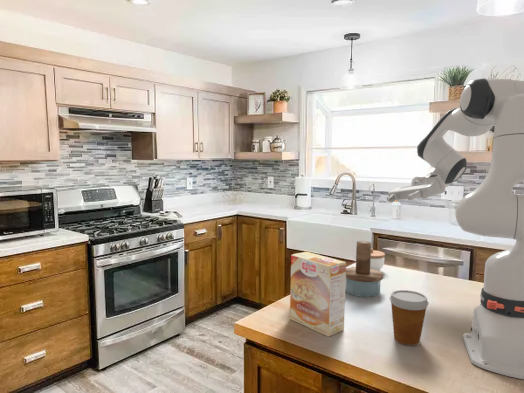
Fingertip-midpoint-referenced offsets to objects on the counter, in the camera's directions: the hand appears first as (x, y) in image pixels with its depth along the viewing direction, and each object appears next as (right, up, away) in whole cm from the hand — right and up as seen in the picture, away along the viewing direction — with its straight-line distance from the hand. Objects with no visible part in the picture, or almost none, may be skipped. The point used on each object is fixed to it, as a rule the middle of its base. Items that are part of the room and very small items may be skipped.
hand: (398, 199), depth 138 cm
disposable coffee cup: (-11, -37, -37) cm, 54 cm away
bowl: (-13, -33, 0) cm, 35 cm away
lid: (-13, -27, 0) cm, 30 cm away
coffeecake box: (-34, -36, -28) cm, 57 cm away
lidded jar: (-3, -31, +25) cm, 40 cm away
